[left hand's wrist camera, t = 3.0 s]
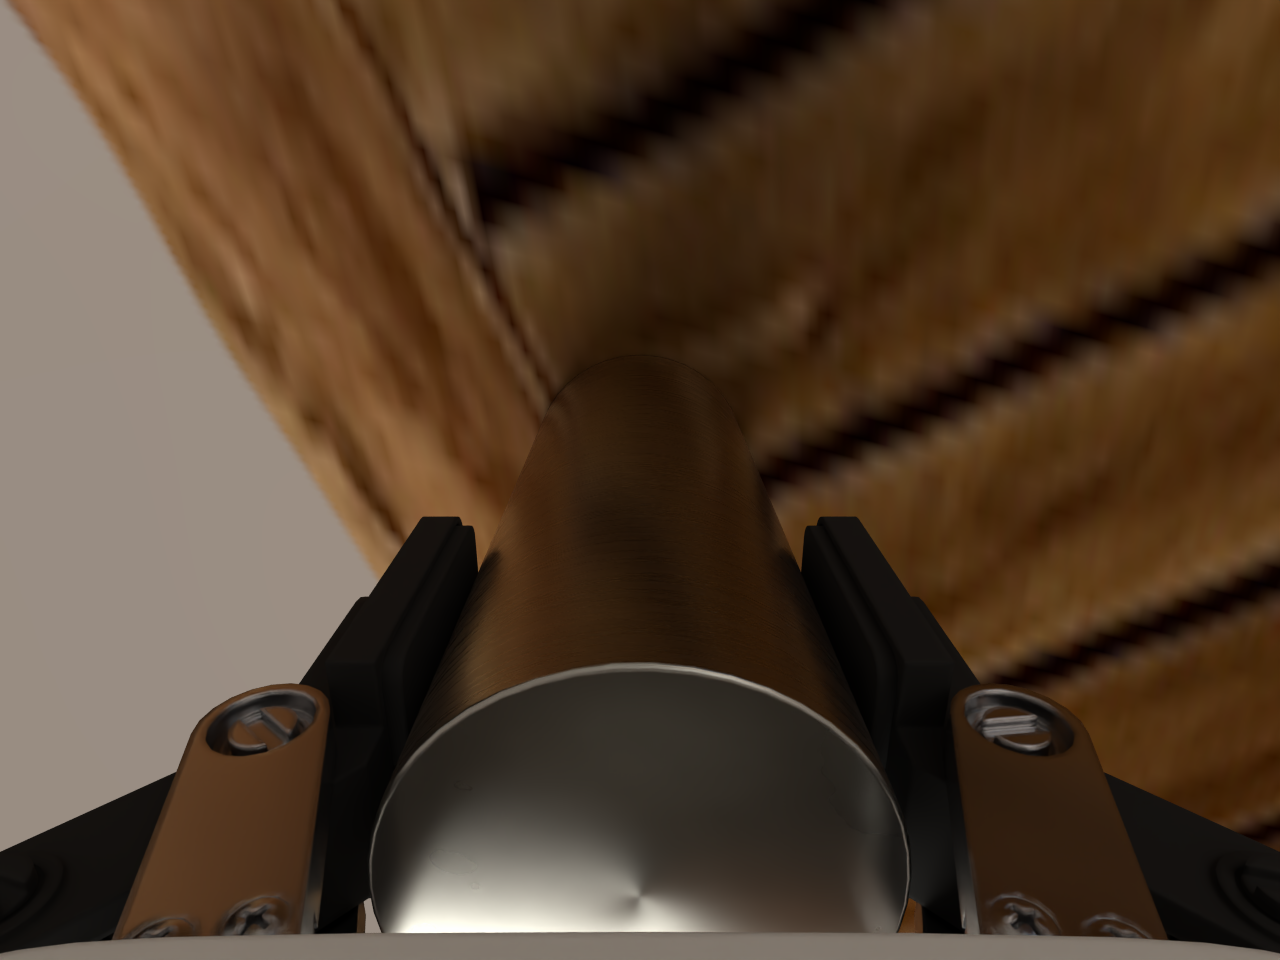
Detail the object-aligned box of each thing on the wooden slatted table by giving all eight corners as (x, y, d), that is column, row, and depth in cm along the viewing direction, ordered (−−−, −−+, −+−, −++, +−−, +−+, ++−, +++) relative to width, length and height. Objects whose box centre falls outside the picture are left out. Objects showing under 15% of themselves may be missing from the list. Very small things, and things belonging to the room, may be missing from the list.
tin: (566, 563, 20) (459, 1106, 8) (514, 379, 18) (280, 725, 6) (756, 526, 19) (935, 1036, 8) (722, 333, 18) (884, 614, 6)
